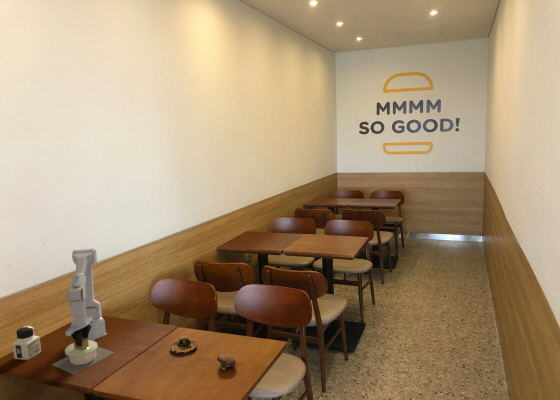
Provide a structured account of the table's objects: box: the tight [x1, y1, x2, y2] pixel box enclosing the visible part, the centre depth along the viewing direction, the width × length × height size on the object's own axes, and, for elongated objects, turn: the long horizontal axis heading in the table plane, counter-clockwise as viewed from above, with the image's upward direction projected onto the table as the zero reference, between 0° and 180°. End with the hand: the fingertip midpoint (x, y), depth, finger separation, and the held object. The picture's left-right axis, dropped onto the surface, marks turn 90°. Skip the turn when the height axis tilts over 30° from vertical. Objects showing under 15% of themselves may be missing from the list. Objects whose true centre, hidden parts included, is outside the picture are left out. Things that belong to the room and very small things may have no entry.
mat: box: [51, 346, 115, 375], centre depth 189 cm, size 20×16×1 cm
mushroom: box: [216, 353, 237, 370], centre depth 179 cm, size 8×8×6 cm
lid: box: [64, 337, 99, 357], centre depth 188 cm, size 13×13×5 cm
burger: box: [169, 331, 198, 354], centre depth 195 cm, size 12×12×8 cm
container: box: [12, 325, 42, 361], centre depth 193 cm, size 8×8×13 cm
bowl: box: [69, 350, 97, 365], centre depth 189 cm, size 10×10×4 cm
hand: (81, 344), depth 188 cm, fingers closed on lid, 3 cm apart
